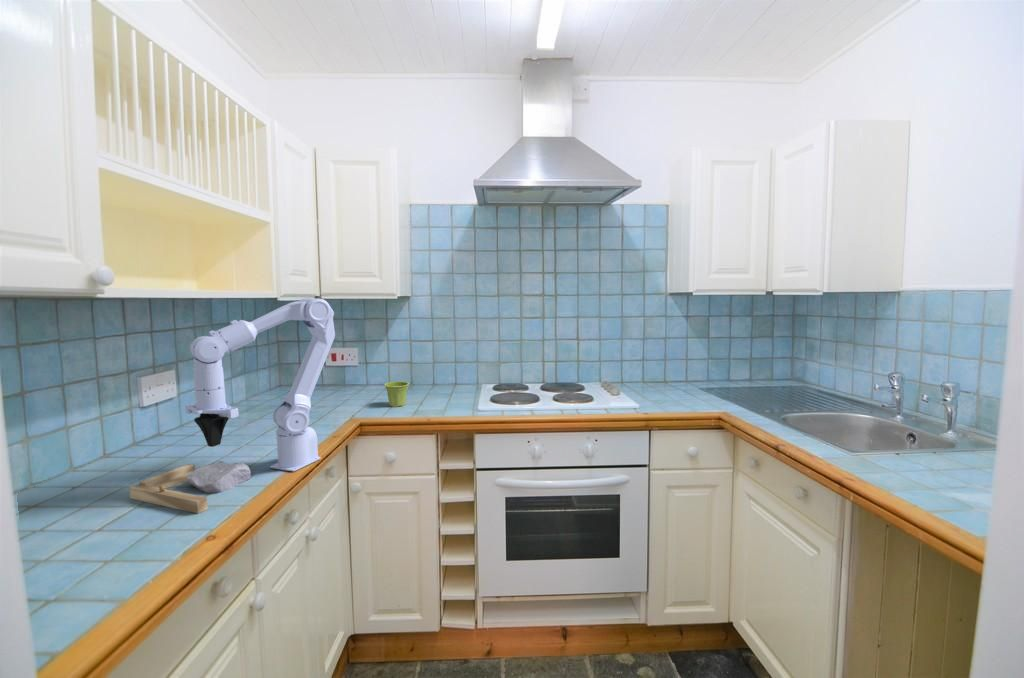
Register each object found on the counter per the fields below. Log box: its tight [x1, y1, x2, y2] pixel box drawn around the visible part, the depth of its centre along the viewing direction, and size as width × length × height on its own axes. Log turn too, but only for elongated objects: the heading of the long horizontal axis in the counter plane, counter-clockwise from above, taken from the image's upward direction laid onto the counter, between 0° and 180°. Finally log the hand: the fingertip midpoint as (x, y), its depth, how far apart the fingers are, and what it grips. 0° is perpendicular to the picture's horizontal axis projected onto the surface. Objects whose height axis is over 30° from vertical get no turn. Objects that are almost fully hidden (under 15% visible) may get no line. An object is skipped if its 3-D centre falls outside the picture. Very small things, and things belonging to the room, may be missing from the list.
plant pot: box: [384, 381, 410, 408], centre depth 179 cm, size 9×9×9 cm
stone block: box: [185, 460, 252, 494], centre depth 107 cm, size 12×5×10 cm
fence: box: [128, 463, 208, 514], centre depth 101 cm, size 13×21×4 cm, turn 70°
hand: (214, 445), depth 105 cm, fingers closed
